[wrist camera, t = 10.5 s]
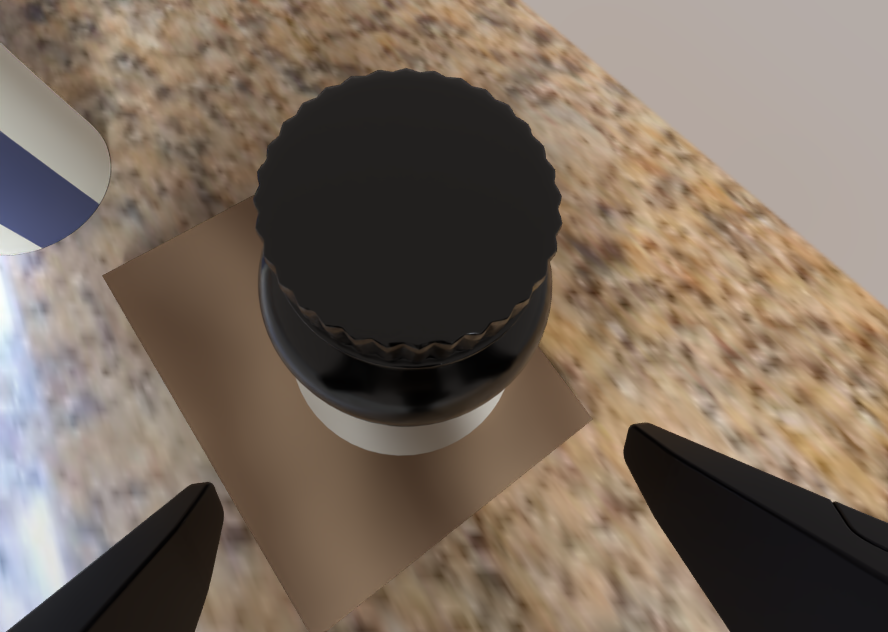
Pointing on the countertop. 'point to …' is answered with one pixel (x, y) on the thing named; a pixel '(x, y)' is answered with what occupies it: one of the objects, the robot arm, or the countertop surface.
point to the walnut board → (320, 428)
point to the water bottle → (44, 162)
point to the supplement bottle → (406, 246)
